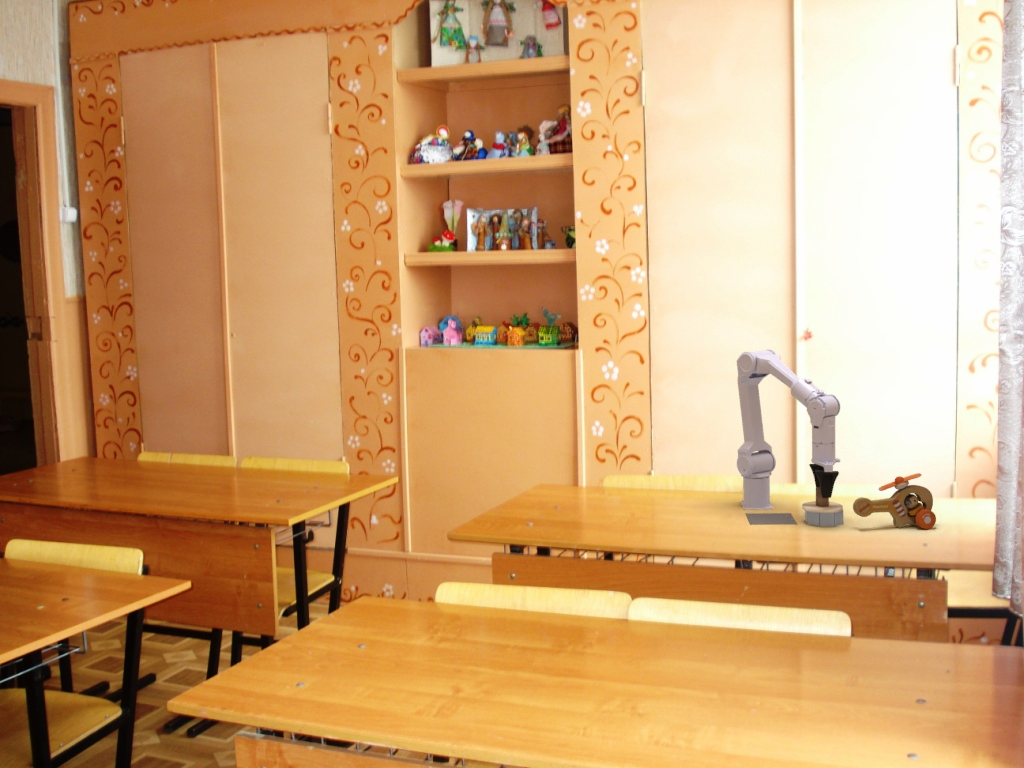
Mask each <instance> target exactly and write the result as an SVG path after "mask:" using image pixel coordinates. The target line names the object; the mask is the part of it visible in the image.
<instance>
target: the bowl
mask: <svg viewBox="0 0 1024 768" xmlns="http://www.w3.org/2000/svg"><path fill="white" fill-rule="evenodd" d="M804 521H805V523H806V524H807V525H809V526H814V527H819V528H820V527H821V528H824V527H825V528H827V527H829V528H831V527H833V528H834V527H839V526H842V525H844V509H843V510H842V511H840V512H835V513H815V512H809V511H805V510H804Z"/></svg>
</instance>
